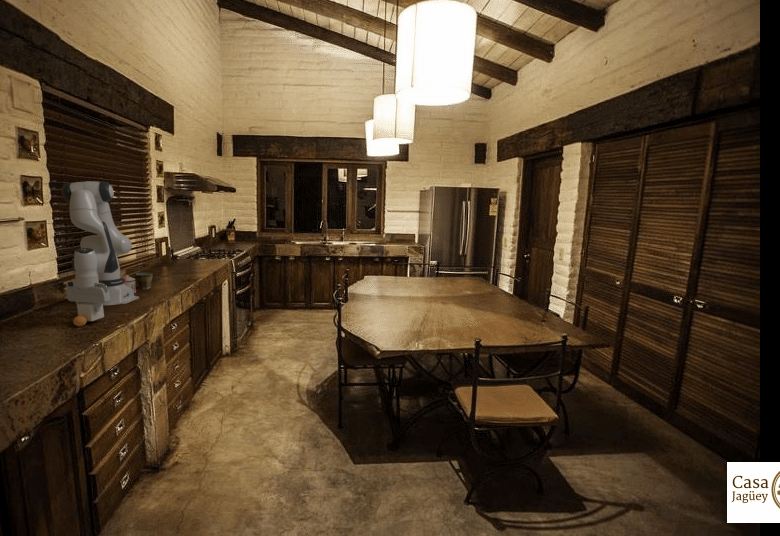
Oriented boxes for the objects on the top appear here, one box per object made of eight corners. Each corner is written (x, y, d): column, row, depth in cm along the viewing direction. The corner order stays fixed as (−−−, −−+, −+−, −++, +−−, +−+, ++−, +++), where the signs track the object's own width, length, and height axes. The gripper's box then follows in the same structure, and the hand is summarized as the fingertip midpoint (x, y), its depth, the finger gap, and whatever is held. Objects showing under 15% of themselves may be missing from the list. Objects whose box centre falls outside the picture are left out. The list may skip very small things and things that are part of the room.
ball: (79, 314, 194) (70, 316, 189) (89, 315, 194) (79, 317, 189) (80, 324, 195) (70, 327, 190) (89, 325, 194) (80, 327, 189)
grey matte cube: (91, 316, 202) (89, 300, 200) (104, 316, 201) (102, 301, 199) (78, 320, 195) (76, 304, 193) (91, 321, 194) (90, 305, 192)
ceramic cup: (157, 287, 280) (156, 273, 278) (144, 290, 270) (143, 275, 269) (142, 286, 284) (141, 271, 282) (129, 288, 274) (128, 274, 273)
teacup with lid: (133, 294, 257) (131, 276, 255) (117, 295, 255) (115, 276, 254) (140, 290, 269) (139, 273, 267) (124, 291, 267) (123, 273, 265)
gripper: (112, 282, 196) (114, 310, 198) (74, 280, 199) (77, 308, 201) (101, 285, 190) (103, 314, 192) (62, 282, 193) (65, 311, 195)
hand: (89, 311), depth 197 cm, fingers closed on grey matte cube, 7 cm apart
